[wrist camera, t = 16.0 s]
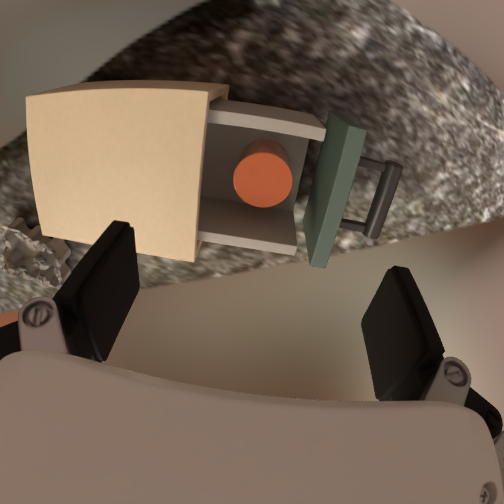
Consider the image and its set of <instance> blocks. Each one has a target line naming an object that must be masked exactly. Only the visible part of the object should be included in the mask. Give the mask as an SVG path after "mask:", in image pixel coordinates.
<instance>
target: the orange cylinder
mask: <svg viewBox="0 0 504 504" xmlns="http://www.w3.org/2000/svg"><path fill="white" fill-rule="evenodd" d="M233 184H234V188H235V190H236V192H237V194H238V195H239V197H240V198H241V199H242V200H244V201H245V202H246V203H248V204H250V205H252V206H255V207H262V208H265V207H272V206H275V205H277V204H279V203H281V202H282V201H283V200H284V199H285V198H286V197H287V196H288V195H289V193H290V191H291V189H292V185H293V175H292V169H291V163H290V158H289V155H288V153H287V151H286V150H285V148H284V147H283V146H281V145H280V144H279V143H277V142H275V141H272V140H268V139H261V140H256V141H253V142H251V143H250V144H248V145H247V146H246V147H245V148H244V149H243V151H242V153H241V155H240V157H239V160H238V163H237V165H236V168H235V171H234V175H233Z"/></svg>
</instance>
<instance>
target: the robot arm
mask: <svg viewBox="0 0 504 504" xmlns="http://www.w3.org/2000/svg"><path fill="white" fill-rule="evenodd" d="M139 287H140V282H139V273H138V264H137V254H136V243H135V231H134V227H131V226H130V223H129V222H125V221H118V220H114V221H112V223H111V224H110V225H109V226H108V227H107V228H106V230H105V231H104V232H103V233H102V234H101V236H100V237H99V238H98V239H97V241H96V242H95V243H94V244H93V246H92V247H91V248H90V249H89V251H88V252H87V253H86V254H85V255H84V257H83V258H82V259H81V261H80V262H79V263H78V264H77V266H76V267H75V268H74V270H73V271H72V272H71V274H70V275H69V276H68V278H67V279H66V281H65V282H64V283H63V285H62V286H61V288H60V289H59V290H58V292H57V293H56V295H55V296H54V297H53V299H50V298H48V297H35V298H33V299H31V300H29V301H27V302H26V303H25V304H24V305H23V306H22V307H21V309H20V311H19V313H18V321H16V322H13V323H10V324H8V325H5V326H3V327H0V504H504V431H502V426H503V423H502V418H501V415H500V413H499V411H498V410H497V409H496V408H495V407H494V406H493V405H491V404H490V403H489V402H488V401H487V400H485V399H484V398H483V397H481V395H479V394H478V393H477V392H476V391H474V390H473V389H472V388H471V387H470V384H471V375H470V372H469V369H468V368H467V366H466V365H465V364H464V363H463V362H462V361H461V360H459V359H457V358H455V357H446V358H445V359H444V357H443V355H442V354H443V353H444V352H445V350H444V347H443V344H442V342H441V339H440V337H439V334H438V332H437V329H436V327H435V325H434V322H433V320H432V318H431V315H430V313H429V311H428V308H427V306H426V304H425V302H424V300H423V297H422V295H421V293H420V291H419V289H418V287H417V285H416V282H415V280H414V278H413V276H412V274H411V273H410V270H409V269H408V268H405V267H400V266H393V267H392V268H391V269H388V270H387V272H386V274H385V276H384V278H383V280H382V282H381V284H380V286H379V288H378V290H377V292H376V294H375V296H374V298H373V299H372V301H371V303H370V305H369V307H368V309H367V311H366V312H365V314H364V316H363V318H362V322H361V327H362V332H363V336H364V341H365V345H366V350H367V355H368V360H369V365H370V370H371V375H372V380H373V385H374V391H375V396H376V398H377V399H378V400H379V401H329V400H310V399H296V398H285V397H274V396H265V395H256V394H248V393H241V392H234V391H227V390H221V389H215V388H209V387H203V386H198V385H192V384H187V383H182V382H177V381H172V380H168V379H163V378H159V377H154V376H150V375H146V374H142V373H138V372H134V371H130V370H126V369H122V368H118V367H114V366H110V365H107V364H103V363H101V362H102V361H106V360H107V358H108V356H109V353H110V351H111V349H112V347H113V344H114V342H115V340H116V338H117V336H118V333H119V331H120V329H121V327H122V325H123V323H124V321H125V318H126V316H127V314H128V312H129V310H130V308H131V306H132V304H133V302H134V299H135V298H136V295H137V294H138V291H139Z"/></svg>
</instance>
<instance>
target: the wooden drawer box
mask: <svg viewBox="0 0 504 504" xmlns="http://www.w3.org/2000/svg"><path fill="white" fill-rule="evenodd" d="M229 86H230V85H227V84H217V83H206V82H192V81H172V80H116V81H97V82H85V83H80V84H75V85H70V86H65V87H61V88H56V89H52V90H49V91H44V92H41V93H37V94H33V95H30V96H26V120H27V137H28V149H29V159H30V168H31V175H32V182H33V189H34V195H35V201H36V206H37V212H38V217H39V222H40V226H41V231H42V235H45V236H50V237H55V238H60V239H66V240H71V241H76V242H82V243H87V244H92V245H93V244H94V243H95V242H96V241H97V239H98V238H99V237H100V236H101V234H102V233H103V232H104V231H105V230H106V228H107V227H108V226H109V225H110V224H111V223H112V221H114V220H118V221H125V222H129V223H130V226H131V227H134V231H135V243H136V252H137V253H143V254H148V255H154V256H160V257H166V258H172V259H178V260H184V261H190V262H195V259H196V256H197V254H198V251H199V249H200V246H201V243H202V241H201V240H197V237H198V221H199V207H200V194H201V181H202V170H203V159H204V148H205V139H206V129H207V120H208V111H209V103H210V101H212V100H214V99H221V100H228V93H229Z"/></svg>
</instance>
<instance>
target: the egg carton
mask: <svg viewBox="0 0 504 504" xmlns="http://www.w3.org/2000/svg"><path fill="white" fill-rule="evenodd" d="M1 233H3V240H2V243H6V248H5V250H4V252H3V266H4V268H3V267H2V269H3V270H6V271H7V273H9V274H12V275H13V276H17V277H19V276H21V275H22V276H24V277H25V278H27V279H28V280H34V281H36V282H39V283H40V284H41V285H44V286H48V287H53V288H56V289H58V290H59V289H60V288H61V286H62V285H63V283H64V282H65V281H66V279H67V278H68V276H69V275H70V274H71V268H70V267H69V266H68V265H67V264H66V262H65V260H66V259H67V258H68V257H69V256H70V255H71V249H70V248H69V247H68V246H67V244H66V243H65V241H64V239H60V238H55V237H54V238H53V239H51V238H49V237H47V236H45V235H42V231H41V226H39V225H37V226H36V227H35V228H34V229H33V230H31V229H29V228H28V227H27V225H26V224H25V220H24V219H23V218H20V217H18V218H17V219H16V220H15V221H14V222H13V223H12V224H10V226H8V227H5V226H3V225H2V231H1Z"/></svg>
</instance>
